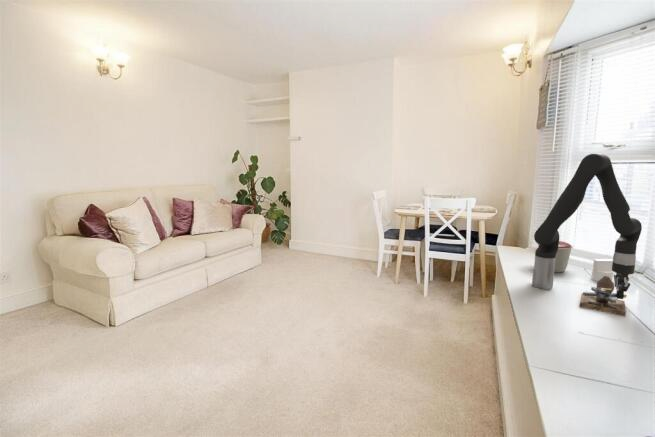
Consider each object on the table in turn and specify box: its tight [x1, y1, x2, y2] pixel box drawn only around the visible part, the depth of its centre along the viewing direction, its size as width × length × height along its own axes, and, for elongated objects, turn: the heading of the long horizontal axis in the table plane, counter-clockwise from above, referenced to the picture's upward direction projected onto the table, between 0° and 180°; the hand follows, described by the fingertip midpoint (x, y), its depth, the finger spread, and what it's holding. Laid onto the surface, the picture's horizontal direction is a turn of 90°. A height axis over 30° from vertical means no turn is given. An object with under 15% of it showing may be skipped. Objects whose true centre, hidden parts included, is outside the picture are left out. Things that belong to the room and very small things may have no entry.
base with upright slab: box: [591, 258, 614, 283], centre depth 182 cm, size 9×9×12 cm
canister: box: [537, 240, 574, 273], centre depth 200 cm, size 18×18×21 cm
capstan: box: [582, 286, 628, 303], centre depth 150 cm, size 17×16×6 cm
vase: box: [596, 276, 615, 293], centre depth 165 cm, size 7×7×9 cm
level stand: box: [579, 292, 627, 317], centre depth 151 cm, size 16×14×3 cm
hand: (619, 298), depth 147 cm, fingers closed
